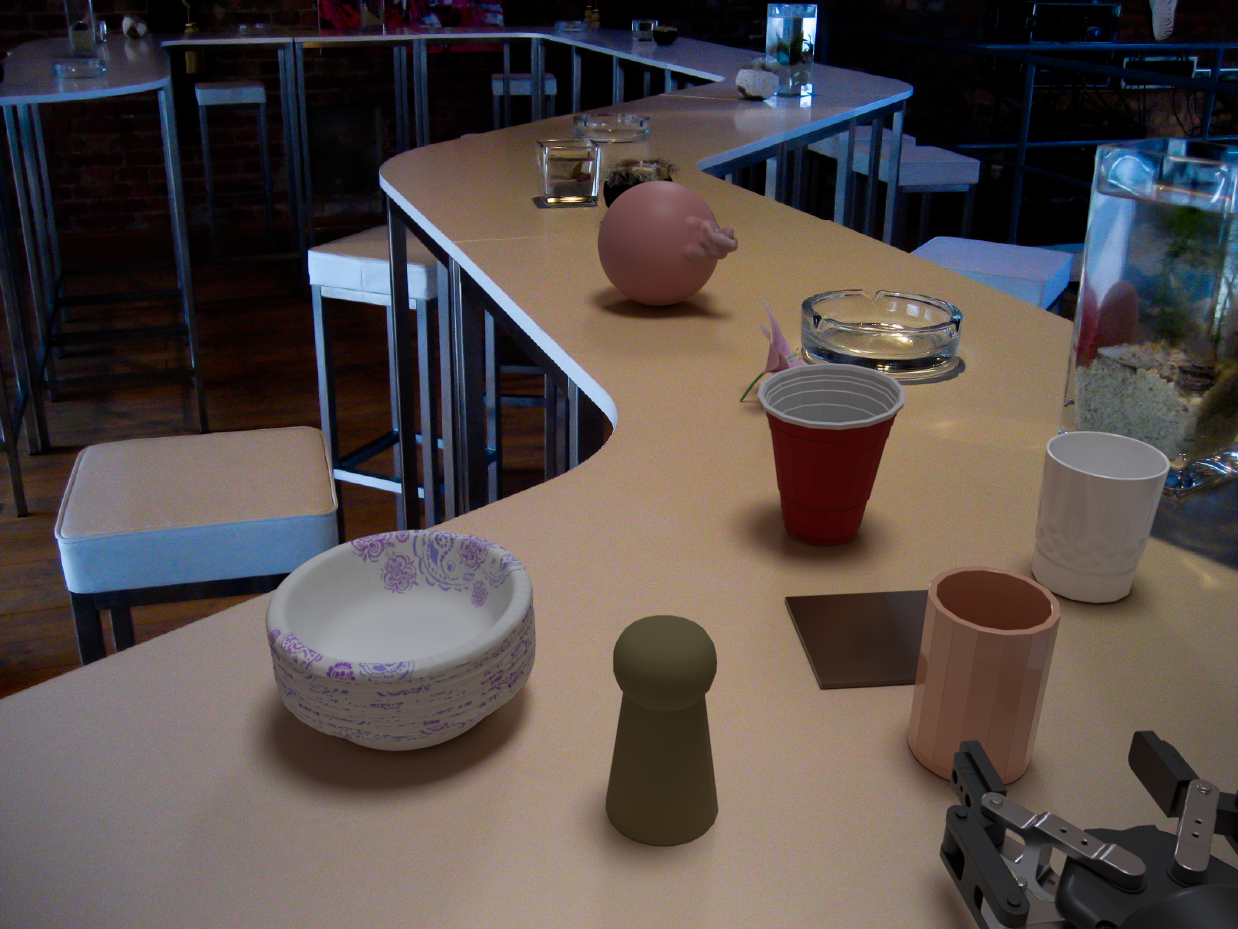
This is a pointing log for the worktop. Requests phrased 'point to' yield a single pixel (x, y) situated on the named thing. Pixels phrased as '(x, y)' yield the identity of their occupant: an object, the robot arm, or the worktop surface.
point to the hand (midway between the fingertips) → (1051, 749)
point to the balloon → (661, 243)
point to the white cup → (1095, 513)
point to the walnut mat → (861, 636)
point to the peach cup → (982, 668)
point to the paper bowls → (402, 637)
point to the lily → (776, 351)
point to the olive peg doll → (663, 732)
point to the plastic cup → (828, 444)
